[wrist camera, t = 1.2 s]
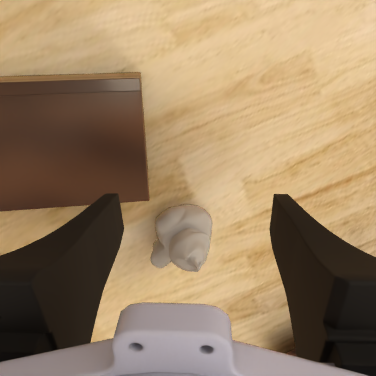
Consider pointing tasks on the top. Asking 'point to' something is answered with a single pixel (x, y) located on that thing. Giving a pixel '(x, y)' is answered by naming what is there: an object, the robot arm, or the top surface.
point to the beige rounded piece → (182, 237)
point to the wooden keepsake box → (71, 140)
